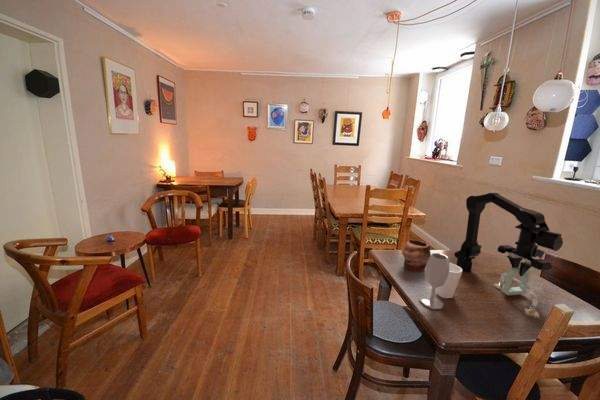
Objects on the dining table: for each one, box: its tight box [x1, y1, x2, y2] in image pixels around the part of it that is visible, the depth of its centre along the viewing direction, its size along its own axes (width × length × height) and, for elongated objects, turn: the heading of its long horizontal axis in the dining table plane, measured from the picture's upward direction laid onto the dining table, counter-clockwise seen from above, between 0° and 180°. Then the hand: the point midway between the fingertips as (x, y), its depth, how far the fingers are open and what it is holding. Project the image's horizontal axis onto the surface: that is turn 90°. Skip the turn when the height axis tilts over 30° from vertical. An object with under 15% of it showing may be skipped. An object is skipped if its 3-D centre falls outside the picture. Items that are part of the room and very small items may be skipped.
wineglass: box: [418, 252, 450, 310], centre depth 105 cm, size 9×9×21 cm
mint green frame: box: [501, 266, 532, 296], centre depth 115 cm, size 10×3×12 cm, turn 102°
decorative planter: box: [401, 239, 431, 273], centre depth 137 cm, size 20×12×14 cm, turn 126°
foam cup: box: [435, 262, 463, 299], centre depth 113 cm, size 10×9×13 cm
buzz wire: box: [492, 272, 540, 320], centre depth 112 cm, size 5×25×9 cm, turn 173°
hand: (518, 274), depth 114 cm, fingers closed on mint green frame, 2 cm apart
